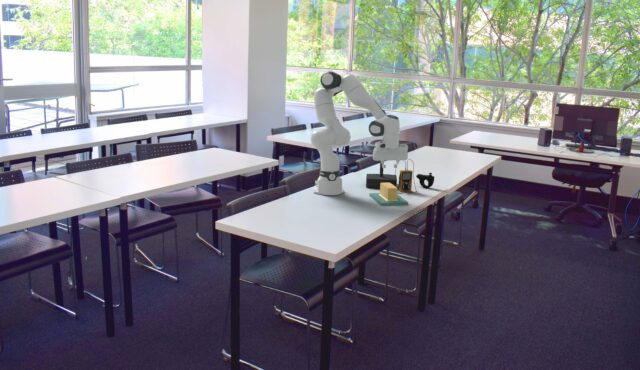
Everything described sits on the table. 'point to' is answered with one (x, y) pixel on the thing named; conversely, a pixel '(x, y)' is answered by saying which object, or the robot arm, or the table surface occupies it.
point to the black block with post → (380, 179)
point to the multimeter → (405, 179)
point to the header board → (384, 202)
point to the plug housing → (388, 191)
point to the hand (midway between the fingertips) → (389, 167)
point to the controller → (425, 177)
